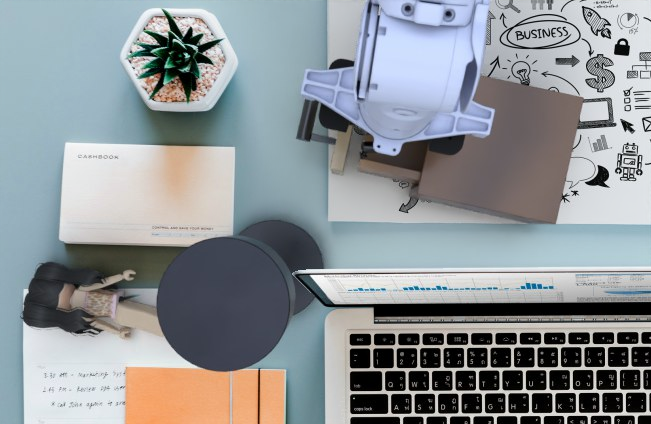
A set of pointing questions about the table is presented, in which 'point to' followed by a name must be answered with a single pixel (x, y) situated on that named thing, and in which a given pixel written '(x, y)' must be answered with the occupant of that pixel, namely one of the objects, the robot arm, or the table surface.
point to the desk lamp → (235, 294)
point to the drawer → (392, 167)
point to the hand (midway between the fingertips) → (389, 120)
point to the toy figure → (84, 302)
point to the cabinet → (508, 156)
